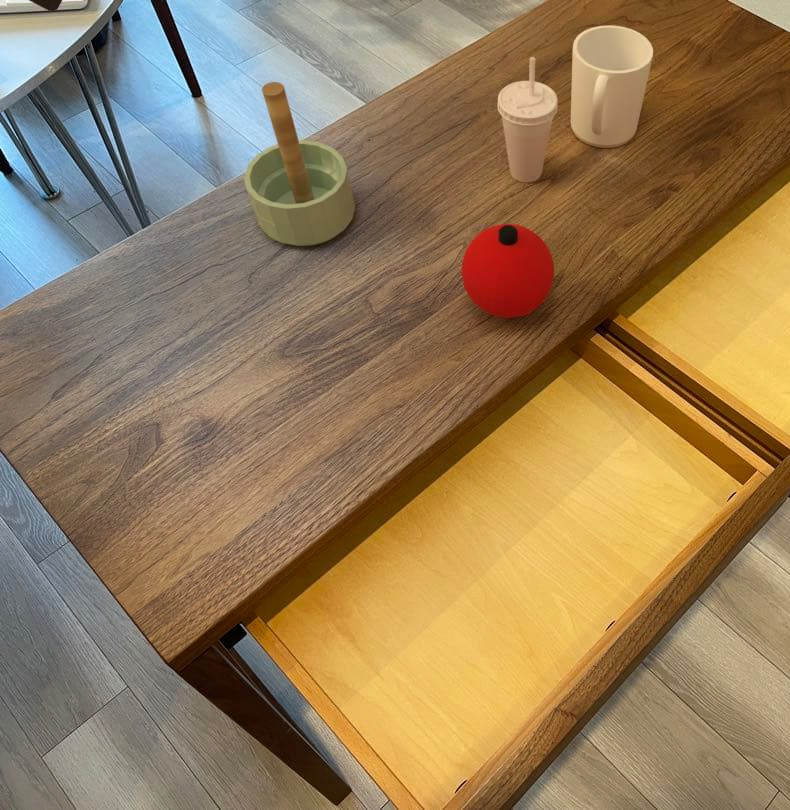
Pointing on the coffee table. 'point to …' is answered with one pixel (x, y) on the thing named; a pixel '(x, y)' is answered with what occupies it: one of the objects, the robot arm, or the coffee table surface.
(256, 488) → the coffee table surface
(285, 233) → the bowl
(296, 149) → the stick
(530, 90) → the smoothie
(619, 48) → the mug
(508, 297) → the ornament
